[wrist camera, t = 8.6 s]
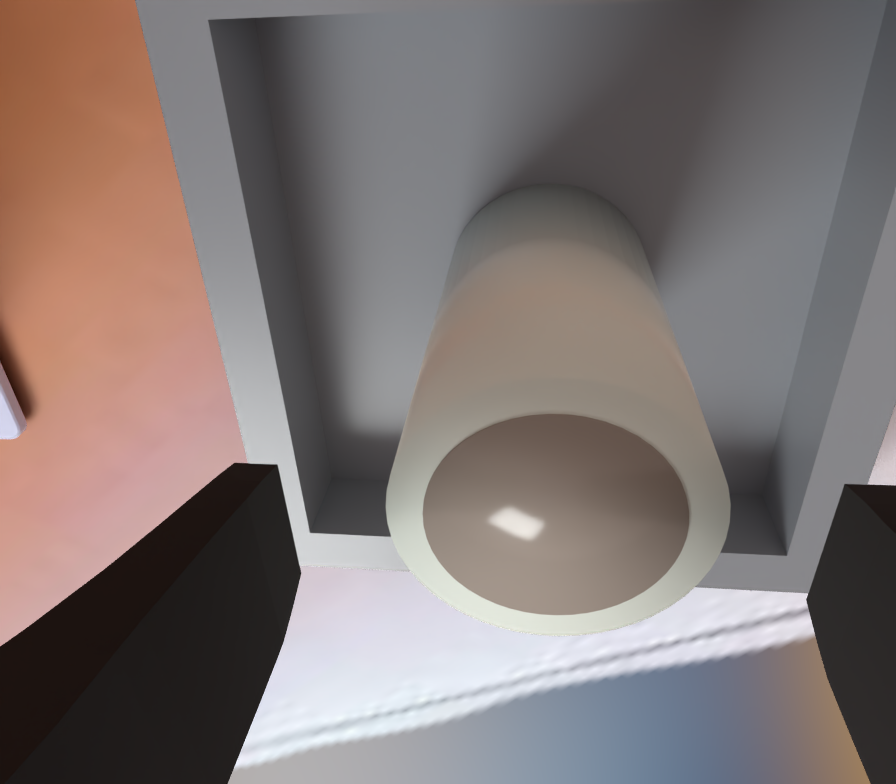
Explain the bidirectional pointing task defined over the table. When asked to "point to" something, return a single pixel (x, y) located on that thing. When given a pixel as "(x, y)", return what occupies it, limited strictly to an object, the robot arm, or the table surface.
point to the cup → (555, 429)
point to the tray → (530, 163)
